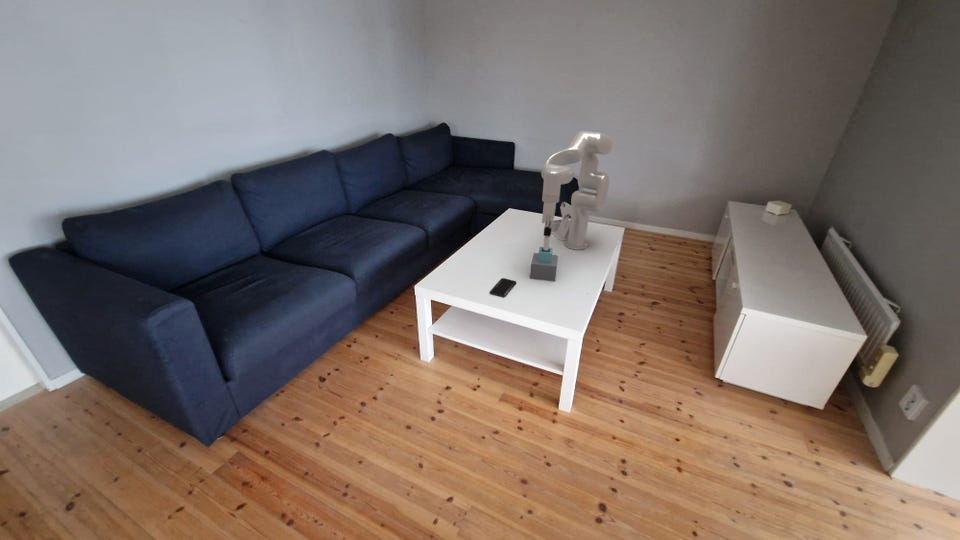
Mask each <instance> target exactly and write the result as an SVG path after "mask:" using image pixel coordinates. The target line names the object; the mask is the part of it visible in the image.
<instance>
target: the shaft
mask: <svg viewBox="0 0 960 540" xmlns="http://www.w3.org/2000/svg"><path fill="white" fill-rule="evenodd" d="M550 237H551V236H544V239H543V247H544V248H543V252H548V249H549V248H550Z"/></svg>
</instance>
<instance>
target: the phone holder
mask: <svg viewBox="0 0 960 540" xmlns="http://www.w3.org/2000/svg"><path fill="white" fill-rule="evenodd" d="M559 208H560V213H561V218H562V219H555V220H554V219H553V223H552V224H551V227H552V228H551V236H554V238H556V239H557V240H558V241H560V242H565V241H567V240H568V236H569V228H570V220H571V218H570V217H571V211H572V205H571V204H569V203H568V202H566V201H563V202H562V203H561V205H560V207H559Z"/></svg>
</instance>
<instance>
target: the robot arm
mask: <svg viewBox="0 0 960 540" xmlns="http://www.w3.org/2000/svg"><path fill="white" fill-rule="evenodd" d="M613 144H614V143H613V139H612V138H611V136H609V135H607V134H605V133H603V132H599V131H590V130H581V131H578V132H577V133H576V135H575V136H574V137H573V139H572V140H571V142H570V143H569V144H568V146H567V147H566V148H564V149H562V150H560V151H558V152H556V153H554V154H552V155H551V156H550V157H549V158H548V159H547V160H546V162H545V163H544V165H543V167H542V170H541V173H540V174H541V178H542V179H543V188H542V195H541V196H542V198H541V201H542V202H543V207H542V218H541V219H542V221H541V223H542V224H544V228H543V236H544V237H545V236H550V237H551V236H552V234H551V228H552V227H551V224H552V223H553V221H554V218H555V213H556V209H557V208H556V206H557V204H558V203H559V202H560V197H561V185H565V184H566V185H567V184H569V183H570V182H571V181H572V180H573V178H574V175H575V171H574V170H573V168H571V167H570V166H566V165H572V164H577V163H579V162H581V164H580V167H579V168H580V169H579V173H578V179H577V184H578V186H579V187H580V188H583V189H586V190H582V189H581V190H576V191H574V192H573V193H572V194H571V199H570V200H571V201H570V202H571V204H570V205H571V206H572V211H571V216H570V219H571V220H570V219H569V220H570V228H569V236H568V240H567V241H564V246H565V247H566V248H568V249H572V250H575V251H577V250H579V251H581V250H586V249H587V248H588V243H587V242H586V239H587V238H586V237H587V232H588V226H589V225H588V224H589V217H590V216H589V212H588V211H590V212H595V213H600V212H602V210H603V209H604V208H605V204H606V200H607V196H608V191H609V187H610V176H609V174H608V173H607V172H602V171H598V166H599V158H598V155H603V156H605V155H608V154H609V153H611V151H612V148H613ZM587 190H591V191H587ZM592 191H596V192H592Z"/></svg>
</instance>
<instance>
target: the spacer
mask: <svg viewBox="0 0 960 540" xmlns="http://www.w3.org/2000/svg"><path fill="white" fill-rule="evenodd" d="M543 248H544V246H539V249H538V252H537V253H538V262H545V263H551V261H552V255H553V253H554V252H553V251H554V248H553V247H549V249H548V252H543Z"/></svg>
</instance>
